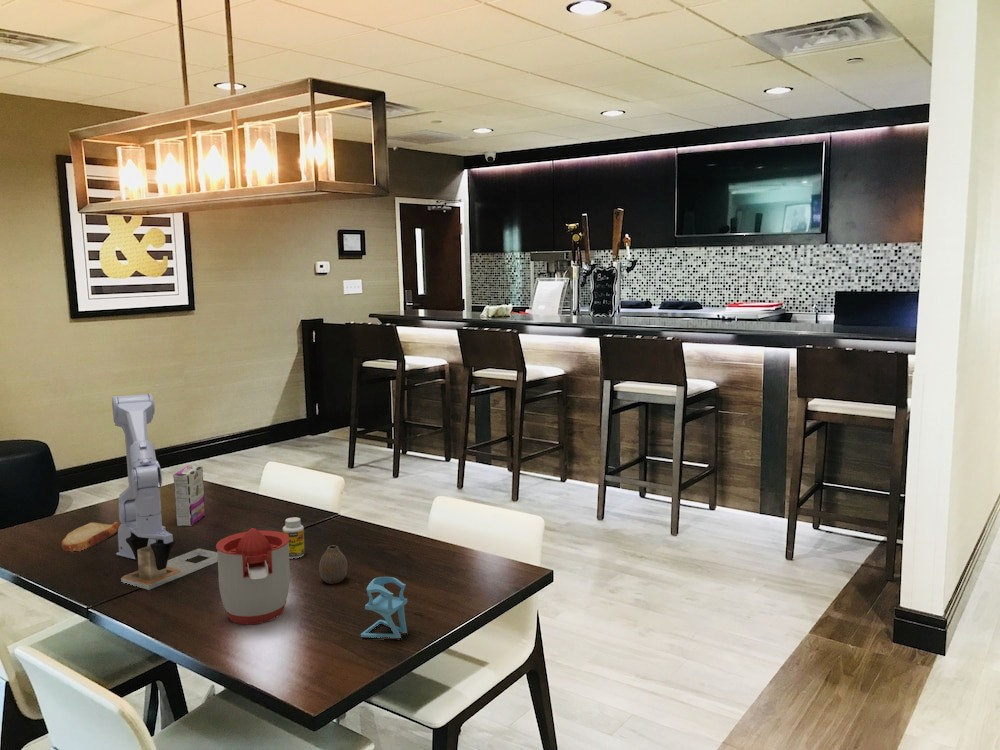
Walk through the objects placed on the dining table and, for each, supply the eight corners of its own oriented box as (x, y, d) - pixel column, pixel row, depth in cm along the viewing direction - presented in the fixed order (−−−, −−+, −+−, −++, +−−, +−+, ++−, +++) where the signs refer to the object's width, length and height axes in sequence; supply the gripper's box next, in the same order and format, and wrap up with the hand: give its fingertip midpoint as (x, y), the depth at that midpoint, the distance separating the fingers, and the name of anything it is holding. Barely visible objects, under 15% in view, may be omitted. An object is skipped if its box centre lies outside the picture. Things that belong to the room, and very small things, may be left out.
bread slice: (67, 555, 212) (66, 542, 212) (49, 539, 225) (48, 527, 225) (135, 540, 225) (135, 527, 224) (115, 526, 238) (114, 514, 237)
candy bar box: (190, 515, 247) (187, 465, 245) (205, 515, 247) (203, 465, 245) (175, 526, 236) (172, 473, 234) (191, 526, 236) (189, 473, 234)
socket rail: (121, 582, 192) (121, 576, 192) (199, 552, 213) (198, 547, 213) (148, 589, 187) (148, 584, 187) (225, 558, 209) (225, 553, 208)
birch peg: (139, 580, 193) (137, 549, 192) (154, 574, 197) (153, 544, 196) (151, 584, 191) (149, 552, 190) (166, 577, 195) (165, 547, 194)
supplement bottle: (287, 561, 207) (285, 523, 206) (280, 554, 211) (279, 518, 210) (307, 556, 210) (306, 520, 209) (300, 550, 214) (299, 515, 213)
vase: (352, 577, 195) (352, 543, 194) (338, 587, 189) (337, 552, 188) (328, 574, 197) (327, 540, 196) (314, 584, 191) (312, 549, 190)
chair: (394, 645, 159) (394, 589, 157) (359, 638, 162) (359, 583, 161) (413, 630, 166) (412, 576, 164) (379, 623, 169) (378, 570, 168)
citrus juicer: (222, 639, 162) (218, 546, 159) (216, 607, 178) (212, 522, 175) (298, 625, 168) (295, 536, 166) (286, 595, 184) (283, 514, 181)
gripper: (182, 513, 192) (184, 566, 194) (143, 505, 199) (146, 556, 201) (157, 521, 186) (160, 575, 188) (118, 512, 193) (122, 565, 195)
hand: (151, 566), depth 194 cm, fingers open, 7 cm apart
